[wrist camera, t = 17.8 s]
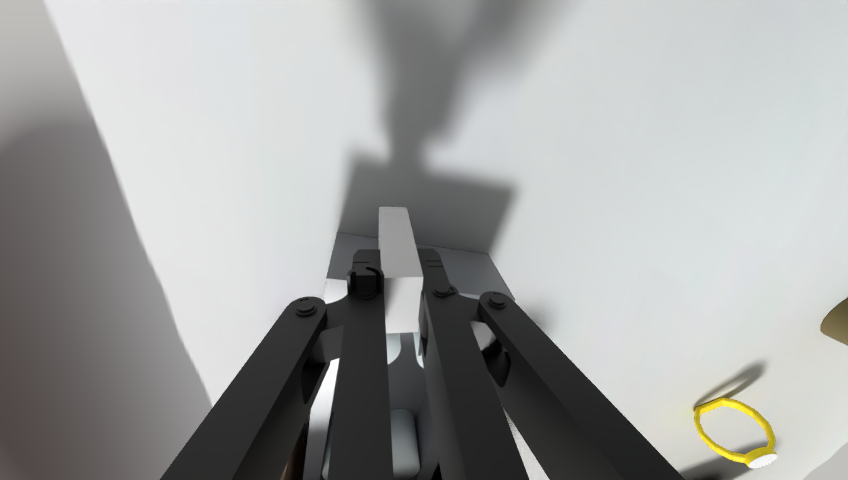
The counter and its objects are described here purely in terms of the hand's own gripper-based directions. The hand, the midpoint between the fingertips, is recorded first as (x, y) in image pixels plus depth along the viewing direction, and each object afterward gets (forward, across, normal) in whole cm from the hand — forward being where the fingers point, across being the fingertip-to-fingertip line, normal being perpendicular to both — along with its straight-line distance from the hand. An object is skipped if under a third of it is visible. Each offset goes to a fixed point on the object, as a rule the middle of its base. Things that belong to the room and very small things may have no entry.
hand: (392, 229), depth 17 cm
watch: (+2, -37, +23) cm, 43 cm away
